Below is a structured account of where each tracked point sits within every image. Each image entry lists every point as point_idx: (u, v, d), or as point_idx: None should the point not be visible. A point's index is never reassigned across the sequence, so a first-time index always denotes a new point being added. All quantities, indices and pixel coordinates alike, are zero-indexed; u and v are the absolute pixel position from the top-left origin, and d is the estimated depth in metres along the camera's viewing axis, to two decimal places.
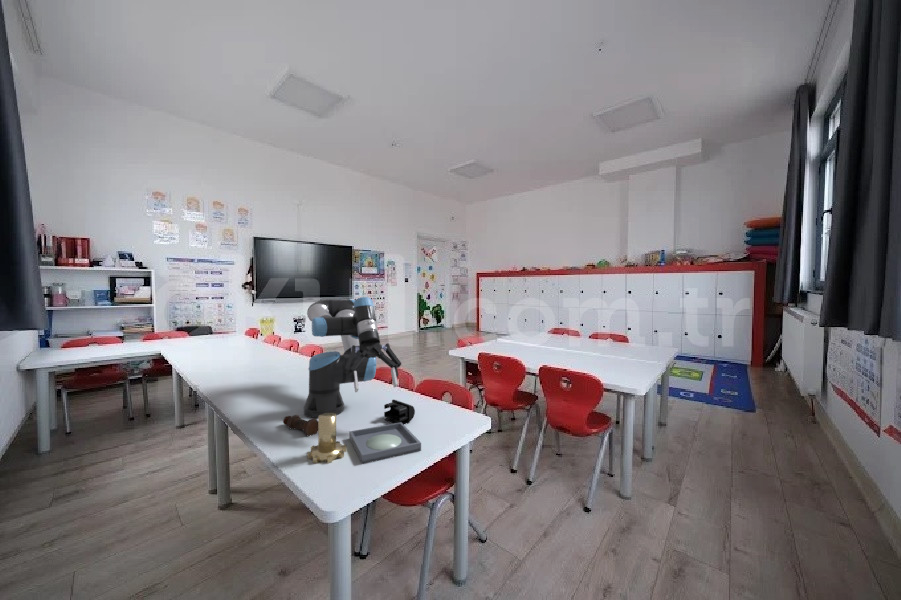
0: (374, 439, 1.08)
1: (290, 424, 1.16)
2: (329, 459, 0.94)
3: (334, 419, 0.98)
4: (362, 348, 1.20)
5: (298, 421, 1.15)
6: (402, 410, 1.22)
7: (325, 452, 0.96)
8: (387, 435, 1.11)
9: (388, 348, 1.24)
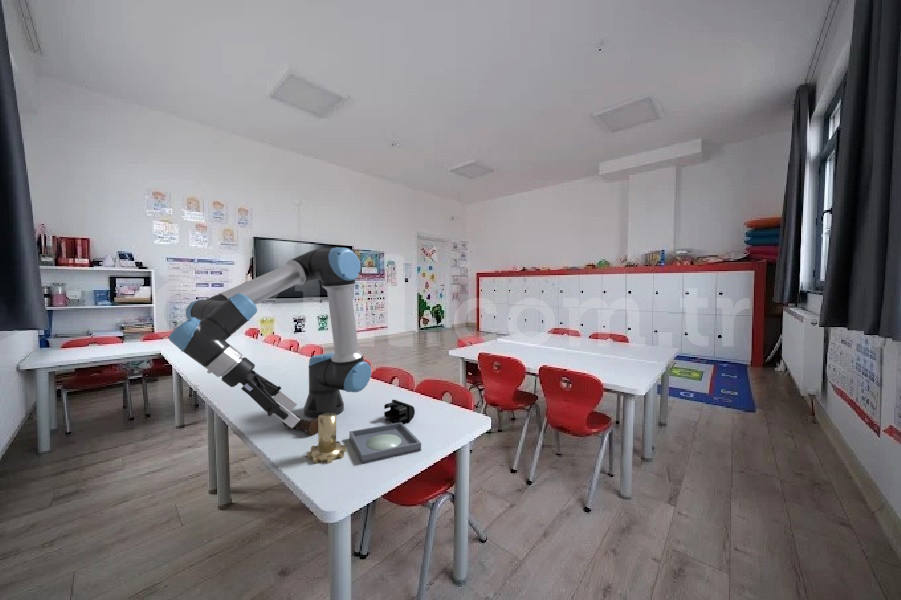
0: (374, 439, 1.08)
1: None
2: (329, 459, 0.94)
3: (334, 419, 0.98)
4: None
5: (299, 421, 1.15)
6: (402, 410, 1.22)
7: (325, 452, 0.96)
8: (387, 435, 1.11)
9: None
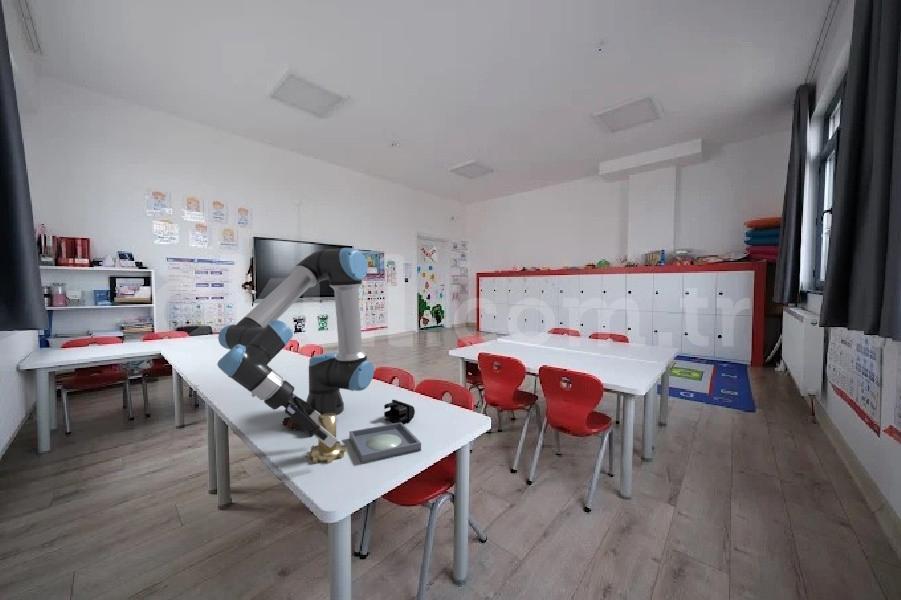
0: (374, 439, 1.08)
1: (291, 425, 1.15)
2: (329, 459, 0.94)
3: (334, 419, 0.98)
4: None
5: None
6: (402, 410, 1.22)
7: (325, 452, 0.96)
8: (387, 435, 1.11)
9: None
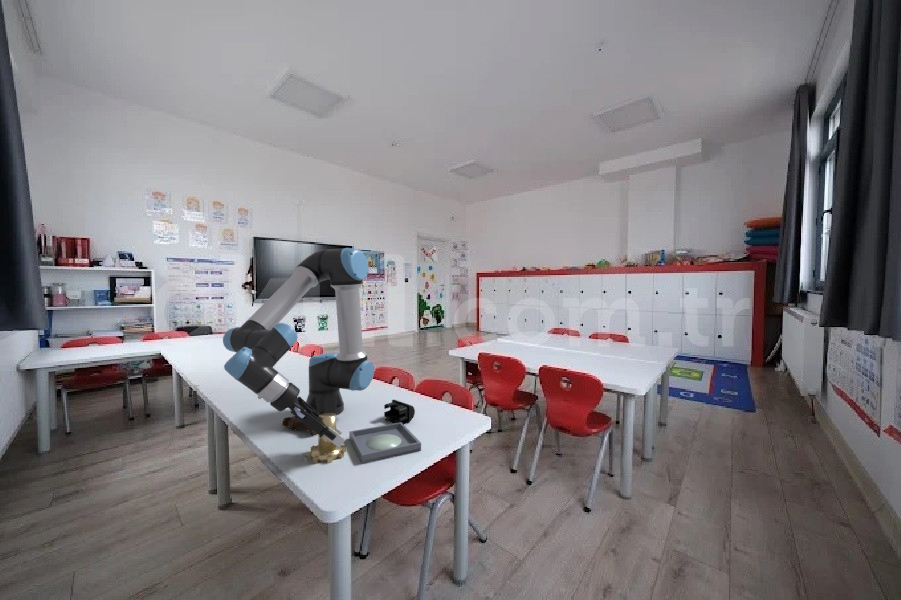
0: (374, 439, 1.08)
1: (292, 425, 1.15)
2: (329, 459, 0.94)
3: (334, 419, 0.98)
4: None
5: (301, 421, 1.15)
6: (402, 410, 1.22)
7: (325, 452, 0.96)
8: (387, 435, 1.11)
9: None
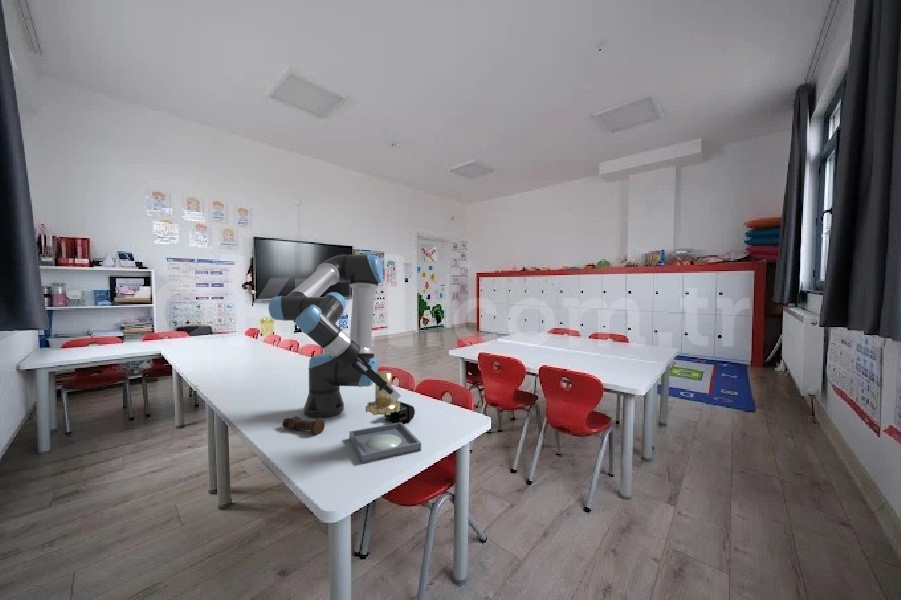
0: (374, 439, 1.08)
1: (292, 426, 1.14)
2: (388, 411, 1.01)
3: (390, 376, 1.05)
4: None
5: (301, 422, 1.15)
6: (402, 410, 1.22)
7: (383, 406, 1.03)
8: (387, 435, 1.11)
9: (363, 373, 0.97)
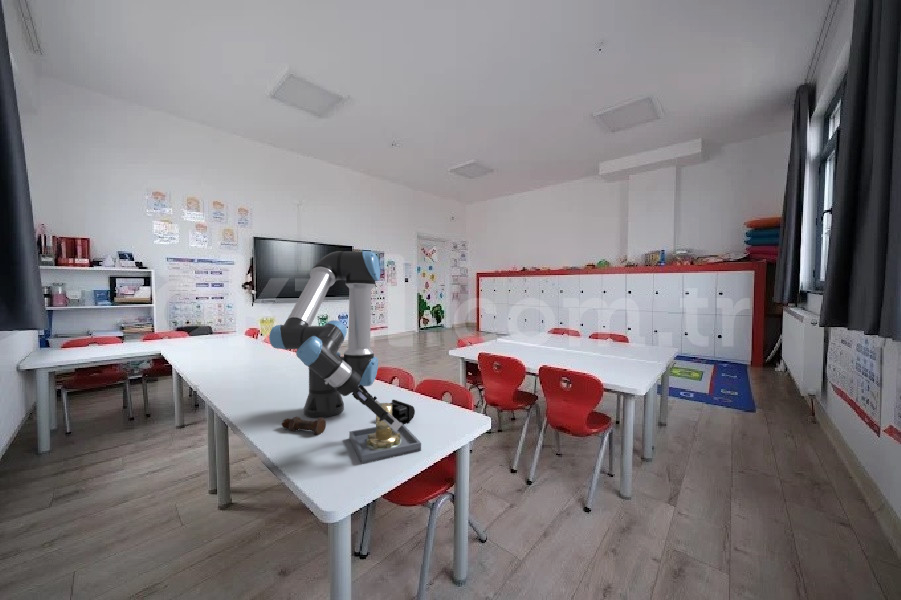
0: None
1: (293, 426, 1.14)
2: (388, 445, 1.01)
3: (391, 408, 1.05)
4: None
5: (302, 422, 1.14)
6: (402, 410, 1.22)
7: (383, 439, 1.04)
8: None
9: None
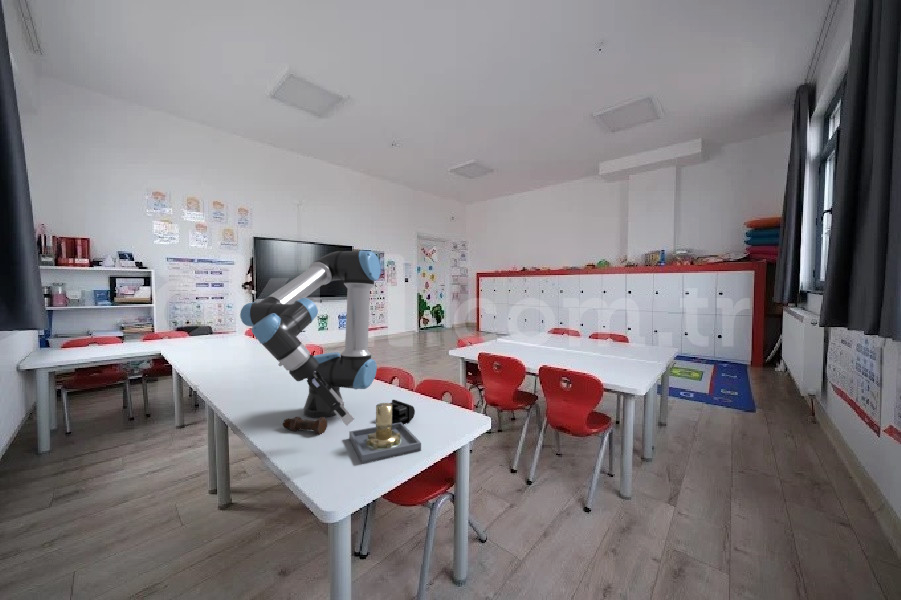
0: None
1: (294, 426, 1.14)
2: (388, 445, 1.01)
3: (391, 408, 1.05)
4: None
5: (304, 422, 1.14)
6: (402, 410, 1.22)
7: (383, 439, 1.04)
8: None
9: None
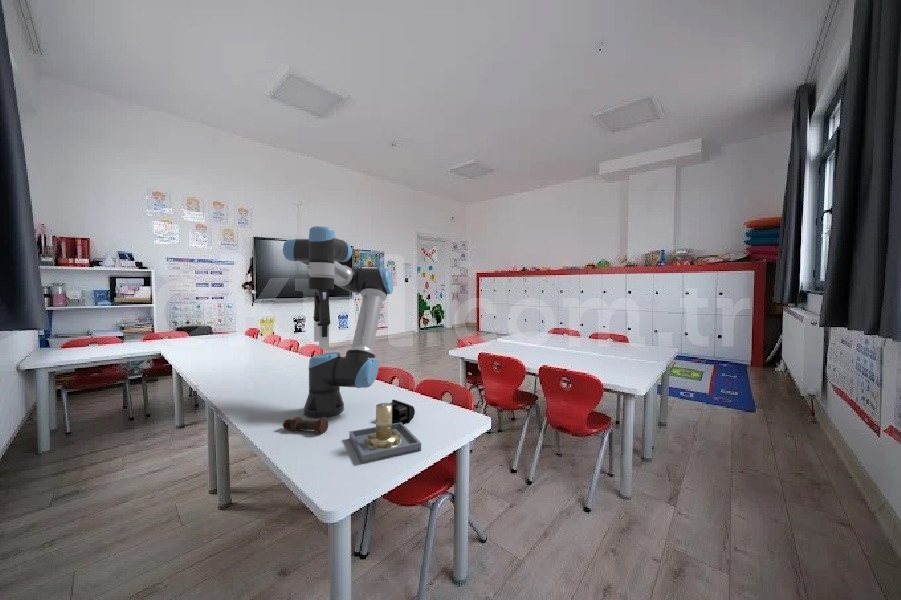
0: None
1: (295, 426, 1.14)
2: (388, 445, 1.01)
3: (391, 408, 1.05)
4: None
5: (305, 422, 1.14)
6: (402, 410, 1.22)
7: (383, 439, 1.04)
8: None
9: (320, 299, 0.98)
